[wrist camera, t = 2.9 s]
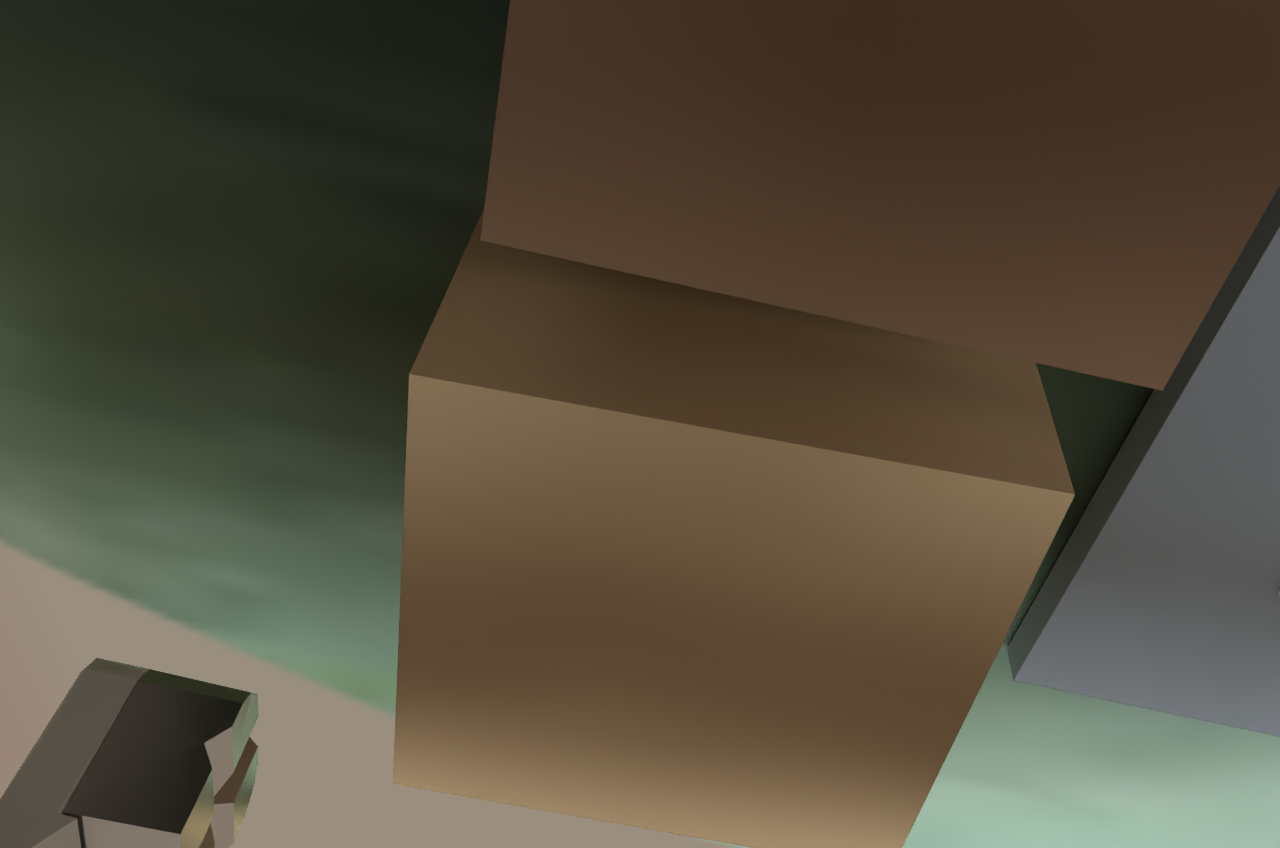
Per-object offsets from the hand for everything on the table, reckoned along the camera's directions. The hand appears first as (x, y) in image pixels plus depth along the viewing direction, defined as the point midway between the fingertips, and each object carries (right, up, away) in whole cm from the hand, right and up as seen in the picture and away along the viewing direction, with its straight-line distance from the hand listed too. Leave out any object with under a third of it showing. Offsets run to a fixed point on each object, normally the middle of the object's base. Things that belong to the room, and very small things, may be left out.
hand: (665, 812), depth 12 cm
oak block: (+1, +4, +4) cm, 5 cm away
